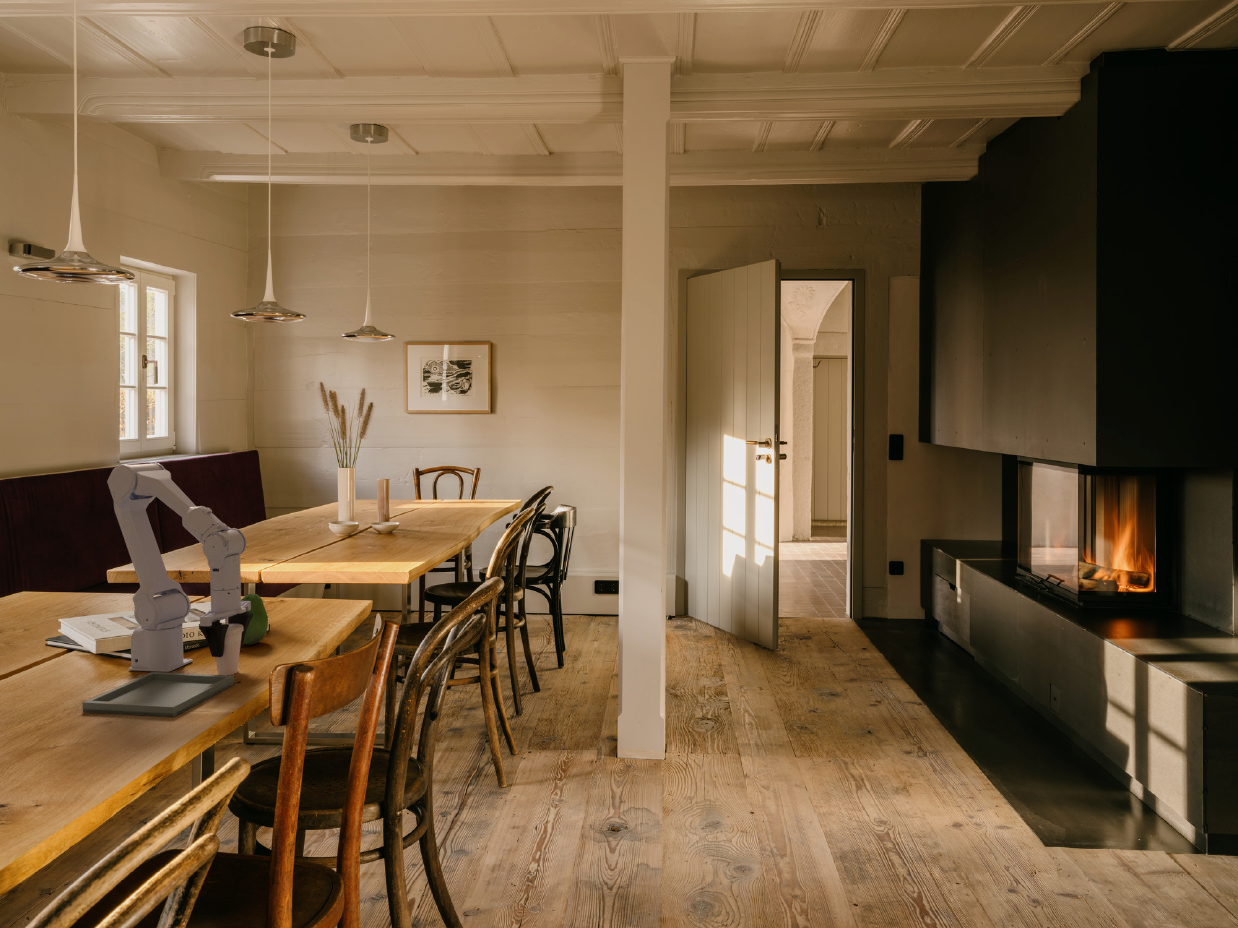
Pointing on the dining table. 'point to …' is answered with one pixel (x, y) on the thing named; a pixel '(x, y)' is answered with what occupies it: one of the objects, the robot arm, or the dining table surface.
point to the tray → (159, 694)
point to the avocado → (256, 620)
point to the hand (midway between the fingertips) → (227, 651)
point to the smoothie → (230, 650)
